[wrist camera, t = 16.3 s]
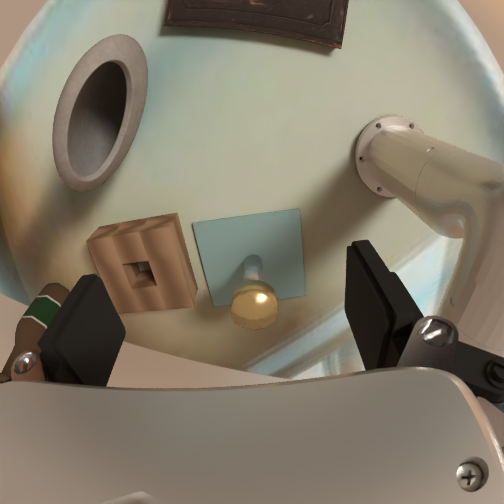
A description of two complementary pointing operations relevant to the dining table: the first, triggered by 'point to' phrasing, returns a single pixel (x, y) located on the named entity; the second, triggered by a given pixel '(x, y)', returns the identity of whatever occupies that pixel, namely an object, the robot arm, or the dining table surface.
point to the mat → (252, 252)
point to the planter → (99, 112)
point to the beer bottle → (35, 323)
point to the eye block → (144, 249)
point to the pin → (254, 297)
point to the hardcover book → (266, 17)
